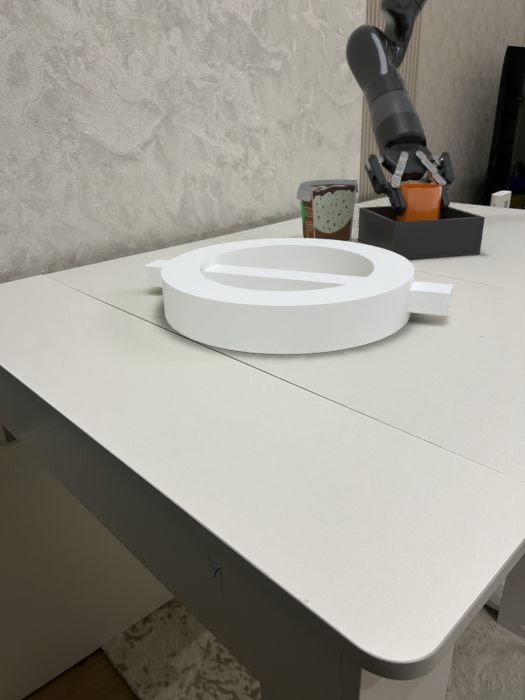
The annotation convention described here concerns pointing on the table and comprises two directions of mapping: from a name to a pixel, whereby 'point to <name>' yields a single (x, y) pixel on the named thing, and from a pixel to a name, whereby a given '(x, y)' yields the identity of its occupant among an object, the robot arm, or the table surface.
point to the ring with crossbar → (292, 294)
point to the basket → (422, 233)
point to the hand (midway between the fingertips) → (423, 211)
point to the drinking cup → (420, 201)
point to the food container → (328, 208)
